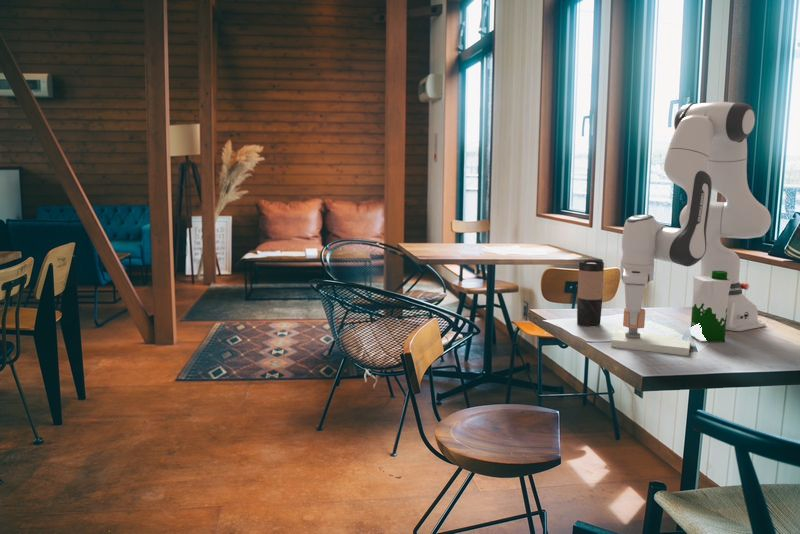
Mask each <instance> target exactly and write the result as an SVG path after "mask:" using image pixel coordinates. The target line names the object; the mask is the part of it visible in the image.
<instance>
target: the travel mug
mask: <svg viewBox="0 0 800 534" xmlns="http://www.w3.org/2000/svg"><path fill="white" fill-rule="evenodd" d="M604 265H605V263H604V261H601V260H585V261H584V262H581V261H579V263H578V281H577V302H576V303H577V304H576V305H577V307H576V311H577V312H576V314H577V315H576V318H577V319H576V323H577V325H579V326H583V327H589V326H595V327H599V326H600V325H601V318H602V317H601V316H602V310H603V309H602V307H603V306H602V305H603V293H604V292H603V291H604V268H605V266H604Z"/></svg>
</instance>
